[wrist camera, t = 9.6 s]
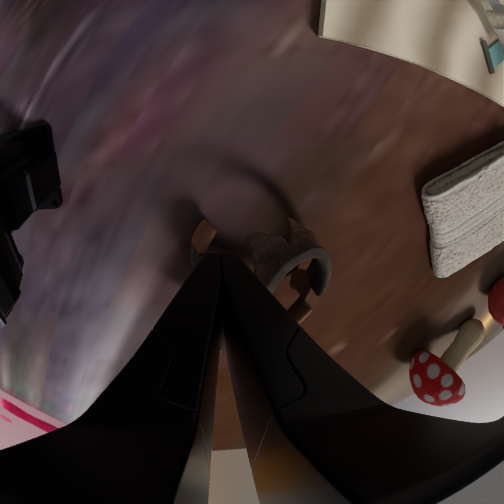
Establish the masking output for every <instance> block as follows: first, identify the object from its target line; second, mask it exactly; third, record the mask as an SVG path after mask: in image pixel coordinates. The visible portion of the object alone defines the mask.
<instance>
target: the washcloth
mask: <svg viewBox="0 0 504 504" xmlns="http://www.w3.org/2000/svg"><path fill="white" fill-rule="evenodd" d="M421 193H422V203H423V207H424V213H425V216H426V219H427V221H428V224H429V230H430V237H431V239H430V251H431V252H430V253H431V258H432V261H431V262H432V267H433V272H434V274H435V276H437V277H439V278H442V277H447V276H449V275H451V274H453V273H454V272H456V271H458V270H460V269H461V268H463V267H465V266H466V265H467V264H469V263H470V262H472V261H473V260H475V259H477V258H479V257H480V256H482V255H483V254H485V253H486V252H488V251H490V250H491V249H492V248H493V247H494V246H496V245H499V244H500V243H501V242H502V241H504V141H502V142H501V143H498V144H497V145H495V146H493V147H492V148H490V149H488V150H486V151H484V152H482V153H481V154H479V155H477V156H475V157H473V158H471V159H470V160H468V161H466V162H465V163H463V164H461V165H460V166H458V167H456V168H454V169H452V170H450V171H448V172H446V173H444V174H442V175H440V176H438V177H437V178H435V179H433V180H431V181H430V182H428V183H427V184H425V185H424V187H423V188H422V192H421Z"/></svg>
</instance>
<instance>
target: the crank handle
mask: <svg viewBox="0 0 504 504" xmlns="http://www.w3.org/2000/svg"><path fill="white" fill-rule="evenodd" d="M480 1H481V3H482V5H483V7H484V9H485V11H486V13H487V17H488V20H489V22H490V24H491V25H492V26H493V28H494V31H495V33H496V35H497V38H498V40H499V43H500V45H501V48H502V50H503V53H504V4H501V3H500V1H499V0H480Z"/></svg>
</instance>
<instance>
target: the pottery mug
mask: <svg viewBox="0 0 504 504" xmlns="http://www.w3.org/2000/svg"><path fill="white" fill-rule="evenodd" d="M286 222H287V224H288V227H289V243H288V242H287V241H286V240H285V239H284V238H283V237H279V236H277V235H266V234H264V233H262V232H256V233H253V234H251V235H249V236H247V237H246V238H245V240H244V241H245V243H246V245H247V246H248V247H249V248H250V249H251V250H252V260H253V264H254V274H255V275H256V276H257V277H258V279H259V280H260V281H261V282H262V283H263V284H264V285H265V287H266V288H267V289H268V290H269V291H270V292H271V293H272V292H273V291H274V290H275V288H276V287H277V286H278V284H279V283H280V281H281V280H282V279H283V278H284V277H285V275H286V274H287V273H288V272H289V271H291V270H292V269H293V268H294V267H295V266H297V265H298V264H300V263H301V262H303V261H305V260H306V259H311V258H313V259H312V261H311V263H310V265H309V267H308V268H307V271H306V270H305V269H294V271H293V274H292V276H291V280H290V287H291V288H292V289H294V290H296V291H297V292H298V293H299V295H300V296H299V297H298V299H297V300H296V301H295V302H294V303H293V305H292V306H291V307H290V308H289V309H288V310H287V311H288V313H289V314H290V315H291V316H292V317H293V318H294V319H295V320H296V322H297V323H298V324H300V323H301V322H302V321H303V320H304V319H305V318H306V317H307V316H308V315H309V314H310V313H311V312H312V310H313V309H312V307H311V306H310V305H309V304H307V302H306V301H307V299H308V298H309V296H310V295H311V293H312V291H314V292H315V294H316V295H317V296H319V297H320V296H322V294H323V293H324V292H325V290H326V289H327V286H328V284H329V281H330V277H331V272H332V261H331V259H330V255H329V253H328V252H327V251H326V250H325V249H324V248H323V247H321V246H319V242H318V240H317V238H316V236H315V234H314V233H313V232H312V231H310V230H307V229H306V228H305V227H303V226H302V225H300V224H299V223H298V222H297V221H295V220H293V219H292V218H290V217H288V218H287V219H286ZM216 233H217V229H216V228H215V227H214V226H213V225H211V224H209V222H208V221H207V220H206V219H203V220H202V221H201V222H200V224H199V225H198V226H197V228H196V230H195V232H194V234H193V237H192V240H191V244H190V248H189V257H190V261H191V264H192V266H193V268H195V267H196V265H197V264H198V262H199V261H200V260H201V258H202V257H203V255H204V254H205V253H206V251H207V248H208V246H209V244H210V242H211V241H212V239H213V237H214V236H215V234H216ZM224 352H226V349H225V344H224V339H223V332H222V322H221V341H220V353H224Z"/></svg>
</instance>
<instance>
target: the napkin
mask: <svg viewBox="0 0 504 504" xmlns="http://www.w3.org/2000/svg"><path fill="white" fill-rule="evenodd" d="M499 1H500V3H501V4H504V0H499ZM318 37H320V38H325V39H330V40H335V41H339V42H343V43H348V44H352V45H356V46H359V47H363V48H367V49H370V50H374V51H377V52H380V53H384V54H387V55H390V56H393V57H396V58H399V59H402V60H404V61H407V62H410V63H413V64H415V65H418V66H421V67H423V68H426V69H428V70H431V71H433V72H435V73H438V74H440V75H442V76H445V77H447V78H449V79H451V80H454V81H456V82H458V83H460V84H462V85H464V86H466V87H468V88H470V89H472V90H474V91H476V92H478V93H480V94H482V95H483V96H485V97H487V98H489V99H491V100H492V101H494V102H496V103H498V104H499V105H501V106H503V107H504V53H503V50H502V48H501V45H500V43H499V40H498V38H497V35H496V33H495V31H494V28H493V26H492V25H491V24H490V22H489V20H488V17H487V13H486V11H485V9H484V7H483V5H482V3H481V1H480V0H321V10H320V20H319V30H318Z"/></svg>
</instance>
